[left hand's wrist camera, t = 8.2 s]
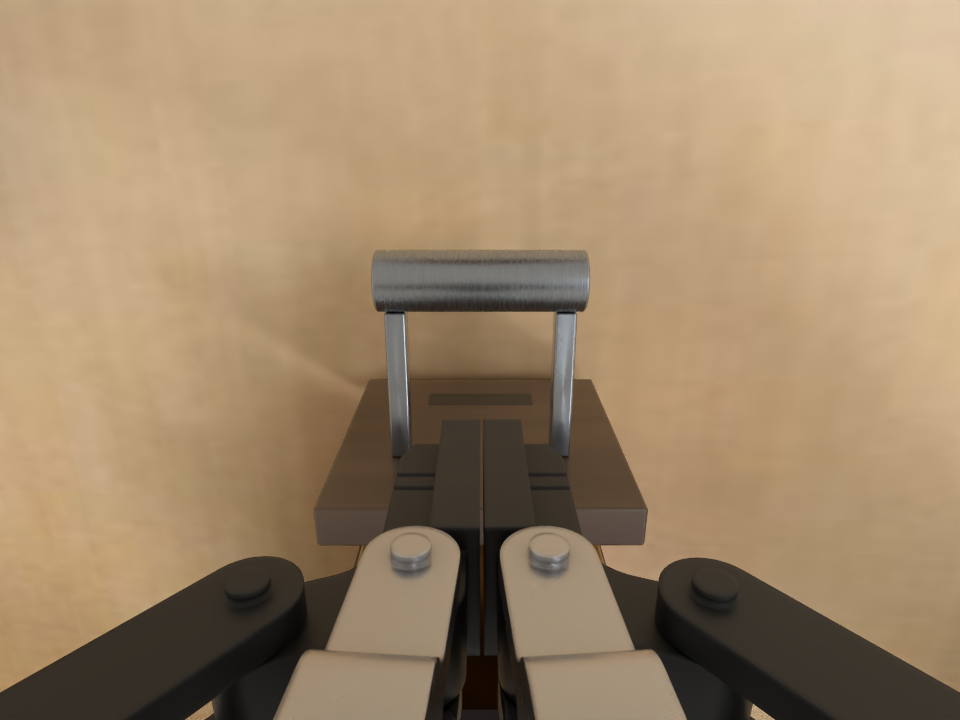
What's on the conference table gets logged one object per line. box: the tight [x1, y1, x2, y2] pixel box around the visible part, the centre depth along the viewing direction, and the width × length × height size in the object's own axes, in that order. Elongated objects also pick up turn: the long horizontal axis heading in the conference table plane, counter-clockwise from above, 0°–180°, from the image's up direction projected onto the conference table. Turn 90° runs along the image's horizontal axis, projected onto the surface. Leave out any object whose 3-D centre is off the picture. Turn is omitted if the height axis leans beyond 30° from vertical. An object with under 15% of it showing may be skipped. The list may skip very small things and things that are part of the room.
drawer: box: [314, 250, 648, 709], centre depth 23 cm, size 26×9×9 cm, turn 0°
